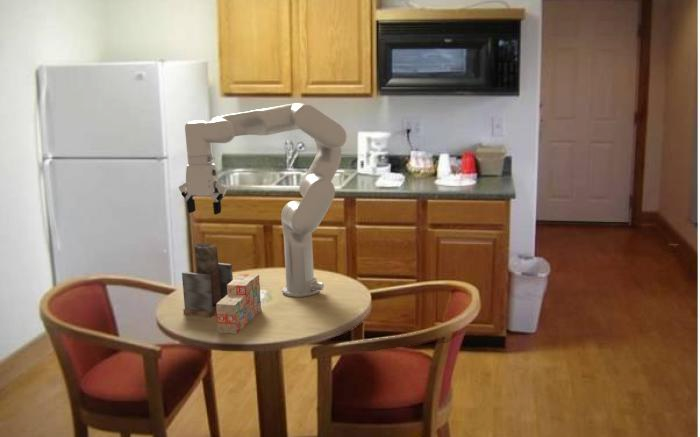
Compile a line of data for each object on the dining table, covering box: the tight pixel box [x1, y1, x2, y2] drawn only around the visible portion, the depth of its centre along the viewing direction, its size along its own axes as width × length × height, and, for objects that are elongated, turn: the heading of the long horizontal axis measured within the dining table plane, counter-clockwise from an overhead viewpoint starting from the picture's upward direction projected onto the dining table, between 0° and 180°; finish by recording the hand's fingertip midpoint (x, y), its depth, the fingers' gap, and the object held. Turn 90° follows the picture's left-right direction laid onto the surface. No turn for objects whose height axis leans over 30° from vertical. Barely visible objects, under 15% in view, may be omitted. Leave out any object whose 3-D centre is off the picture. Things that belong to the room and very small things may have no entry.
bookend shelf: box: [181, 262, 234, 318], centre depth 249 cm, size 10×15×14 cm, turn 155°
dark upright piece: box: [193, 242, 221, 305], centre depth 248 cm, size 8×7×20 cm
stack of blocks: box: [216, 273, 262, 335], centre depth 237 cm, size 21×6×12 cm, turn 167°
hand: (204, 212), depth 247 cm, fingers open, 9 cm apart
